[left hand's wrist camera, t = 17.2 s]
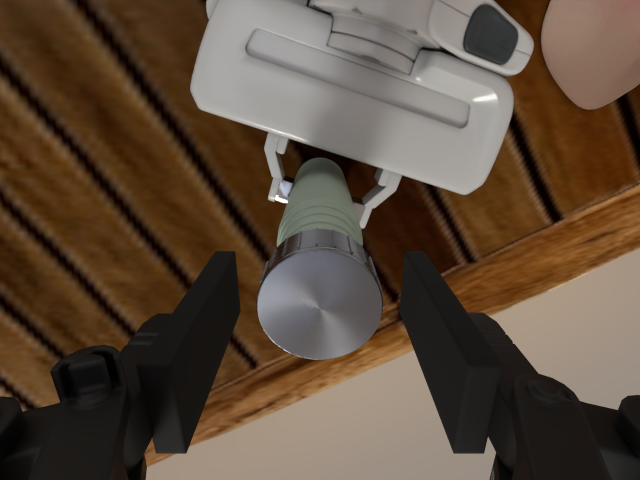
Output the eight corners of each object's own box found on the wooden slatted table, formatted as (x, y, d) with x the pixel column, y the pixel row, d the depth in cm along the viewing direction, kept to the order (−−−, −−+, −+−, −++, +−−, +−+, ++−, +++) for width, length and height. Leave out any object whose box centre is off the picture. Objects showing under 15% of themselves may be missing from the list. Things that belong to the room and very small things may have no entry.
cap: (255, 314, 15) (245, 348, 13) (276, 214, 14) (268, 235, 12) (357, 335, 16) (363, 371, 14) (389, 240, 14) (401, 265, 12)
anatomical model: (649, 131, 27) (530, 50, 25) (609, 127, 31) (503, 57, 29) (808, -61, 23) (680, -176, 21) (740, -38, 27) (625, -134, 25)
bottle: (327, 147, 31) (339, 220, 12) (353, 189, 33) (403, 316, 13) (285, 175, 32) (233, 285, 13) (312, 215, 34) (302, 369, 14)
